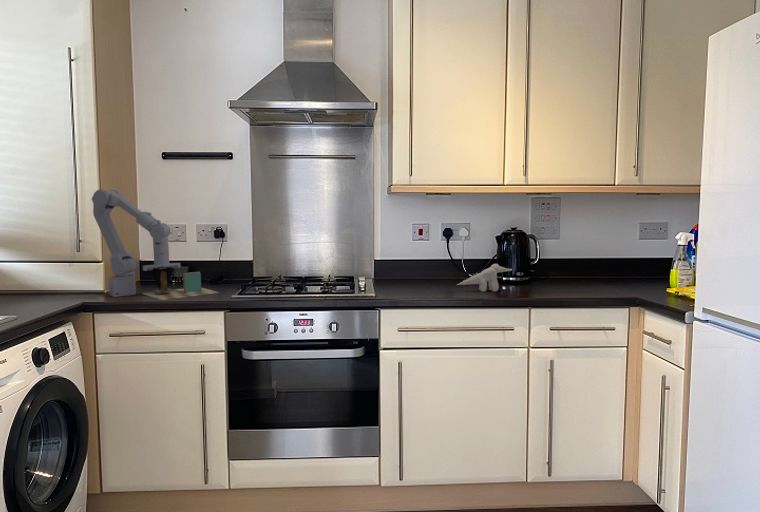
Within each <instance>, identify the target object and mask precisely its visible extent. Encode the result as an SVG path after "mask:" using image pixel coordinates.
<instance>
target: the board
mask: <svg viewBox="0 0 760 512" xmlns="http://www.w3.org/2000/svg"><path fill="white" fill-rule="evenodd" d="M172 290H173V292H169V293H161V294H157V293H154V292H153V291H152V292H150V291H149V292H142V293H141V294H142V295H144V296H148V297H151V298H154V299H155V300H159V301H166V300H174V299H175V300H176V299H181V298H189V297H198V296H204V295H212V294H219V293H220V294H221V292H220V291H216V290H213V289H209V288H208V289H207V288H204V287H201V291H194V292H186V293H184V287H182V288H176V289H172Z"/></svg>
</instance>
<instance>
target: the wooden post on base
mask: <svg viewBox="0 0 760 512" xmlns="http://www.w3.org/2000/svg"><path fill="white" fill-rule="evenodd" d="M160 271H161V287H158V289H153V291H152V292H154V293H157V294H161V293H169V292H173V290H174V289H172V288H169V287H167V272H166V271H163V270H160Z"/></svg>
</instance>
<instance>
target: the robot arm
mask: <svg viewBox="0 0 760 512" xmlns="http://www.w3.org/2000/svg"><path fill="white" fill-rule="evenodd" d="M91 201H92V205H93V207H92V213H93V218H94V219H95V221H96V224H97V226H98V228H99V231H100V233H101V235H102V237H103V239H104V241H105V243H106V245H107V247H108V249H109V252H110V254H111V257H110V259H109V261H110V265H111V271H112V273H113V274H114V275H113V276H110V277H109V278H108V289H109V290H108V291H109V296H111V297H114V298H116V297H122V296H132V295H133V296H134V295H136V294H137V293H136V292H137V289H136V273H135V271H136V270H137V269H138V262H137V260H136V259H135V258H134V257H133V256H132V255H131V254H132V253H130V252H128V251H127V249H125V246H124V244H123V242H122V241H123V240H122V239H121V237H120V235H119V233H118V230H117V229H116V226H115V224H114V221H113V218H112V217H111V213H112V211H113V209H115V208H116V207H119V208H120V209H122V210H124V211H125V212H126V213H128V214H129V215H130V216H132V217H134V218H135V222H136V223H137V224H138V225H139V226H140V227H142V228H144V229H145V230H146V231H147V232H149V235H150V237H151V238H152V247H153V264H147V265H142V271H145V272H146V271H150V273H151V274H152V276H153V278H154V280H155V283H156V287H157V288H159V287H161V271H166V272H167V288H169V285H170V281H171V277H172V275H173V273H174V272H175V271H174V270H175V269H180V268H181V263H180V262H170V249H169V236H170V234H171V228H170V226H168V224H167V223H163V222H162V221H161V220H160V219H157V218H155V217H154V216H153V215H152V212H150V211H141V210H140V209H139V208H138V207H136V206H135V205H134V204H133V203H132V202H131V201H129V200H128V199H127V198H126V197H125V196H124V195H123V194H121V193H120V192H119V191H117V190H115V189H97V190H95V192H94V193H93V195H92V196H91ZM161 222H162V223H161Z"/></svg>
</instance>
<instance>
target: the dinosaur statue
mask: <svg viewBox="0 0 760 512" xmlns="http://www.w3.org/2000/svg"><path fill="white" fill-rule="evenodd" d="M511 271H513V268H506V267H504V266H501V265H499V264H498V263H493V264H492V265H490V267H488V268H486V269H483V270H482V271H481V272H479V273H478V272H476V273H475V274H474V273H473V275H472V276H470V277H469V278H468V277H467V278H466V279H463V281H461V282H460V283H457V284H456V286H462V285H463V286H464V285H465V286H466V285H479V287H478V290H479V291H480V292H483V293H485V292H486V291H487V287H489V288H488V290H489V291H491V292H493V293H494V292H498V291H499V282H498V273H504V272H506V273H507V272H511Z"/></svg>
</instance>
